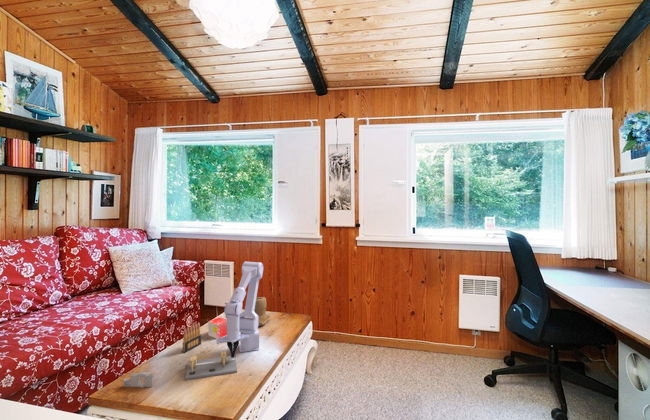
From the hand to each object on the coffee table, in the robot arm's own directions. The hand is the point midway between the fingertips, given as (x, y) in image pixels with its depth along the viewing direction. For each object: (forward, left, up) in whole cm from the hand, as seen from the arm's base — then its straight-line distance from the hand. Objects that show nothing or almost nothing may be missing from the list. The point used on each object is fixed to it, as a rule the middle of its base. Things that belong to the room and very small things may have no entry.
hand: (232, 356), depth 149 cm
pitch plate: (+9, +2, -3) cm, 10 cm away
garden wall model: (+37, +8, -3) cm, 38 cm away
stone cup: (-18, -46, -3) cm, 50 cm away
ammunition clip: (+19, -21, -3) cm, 29 cm away
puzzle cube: (+6, -34, -3) cm, 35 cm away
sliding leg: (+4, +2, -1) cm, 5 cm away
